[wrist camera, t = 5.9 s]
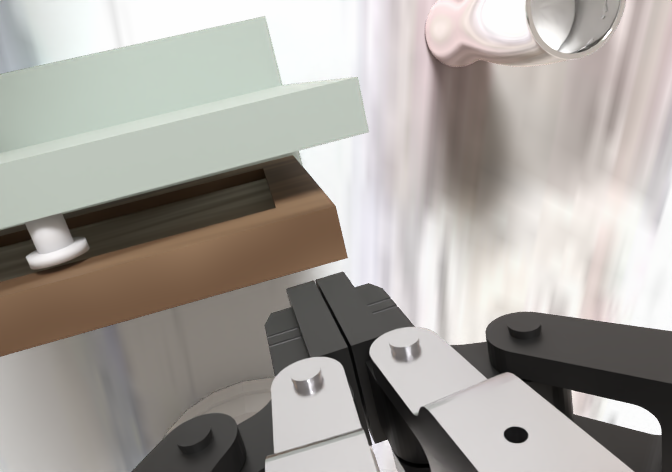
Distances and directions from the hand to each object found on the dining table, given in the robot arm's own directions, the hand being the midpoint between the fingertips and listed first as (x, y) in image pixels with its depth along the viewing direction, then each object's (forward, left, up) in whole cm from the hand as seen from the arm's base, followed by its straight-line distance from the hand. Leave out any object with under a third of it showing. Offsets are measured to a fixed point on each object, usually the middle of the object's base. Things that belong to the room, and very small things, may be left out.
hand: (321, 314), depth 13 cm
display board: (-4, -8, -31) cm, 32 cm away
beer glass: (-6, +20, -31) cm, 37 cm away
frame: (0, -8, -20) cm, 21 cm away
